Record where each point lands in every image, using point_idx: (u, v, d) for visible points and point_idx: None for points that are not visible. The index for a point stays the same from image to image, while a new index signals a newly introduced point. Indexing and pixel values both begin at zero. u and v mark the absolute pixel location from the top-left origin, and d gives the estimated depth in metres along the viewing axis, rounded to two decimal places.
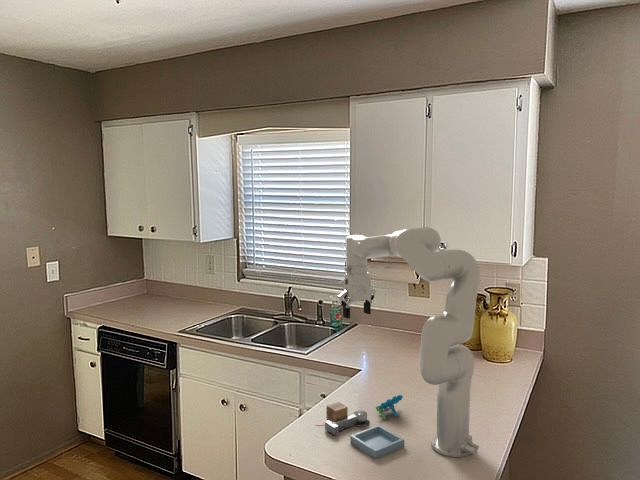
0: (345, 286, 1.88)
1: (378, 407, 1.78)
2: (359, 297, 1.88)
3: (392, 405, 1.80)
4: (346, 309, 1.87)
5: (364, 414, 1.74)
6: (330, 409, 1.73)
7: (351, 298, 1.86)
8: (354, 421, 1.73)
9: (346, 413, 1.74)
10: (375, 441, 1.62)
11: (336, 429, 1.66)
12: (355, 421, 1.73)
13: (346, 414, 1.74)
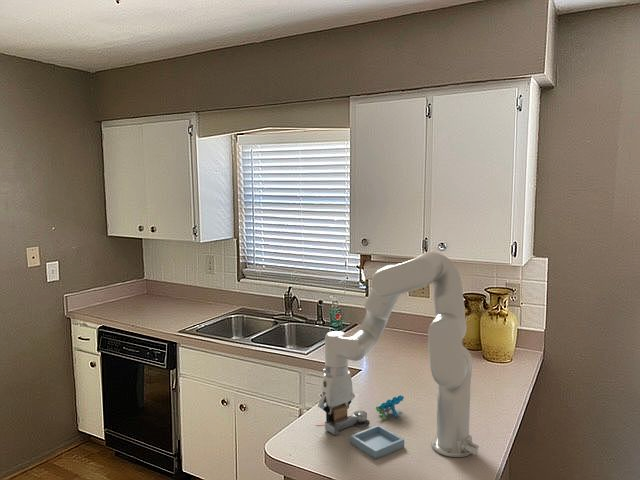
0: (323, 388, 1.71)
1: (378, 407, 1.78)
2: (339, 401, 1.71)
3: (392, 406, 1.80)
4: (329, 415, 1.72)
5: (364, 414, 1.74)
6: None
7: (330, 403, 1.69)
8: (354, 421, 1.73)
9: (346, 413, 1.74)
10: (375, 441, 1.62)
11: (336, 429, 1.66)
12: (355, 421, 1.73)
13: (346, 414, 1.74)
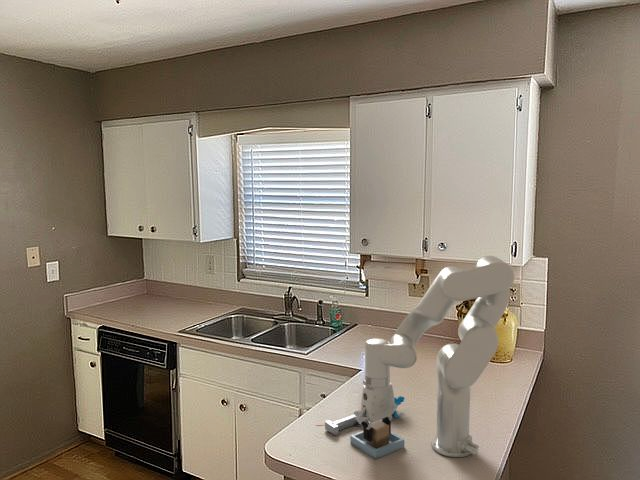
0: (363, 401, 1.56)
1: None
2: (380, 415, 1.56)
3: None
4: (367, 431, 1.57)
5: None
6: None
7: (371, 417, 1.54)
8: (354, 421, 1.73)
9: (387, 432, 1.59)
10: None
11: (336, 429, 1.66)
12: (355, 421, 1.73)
13: (388, 433, 1.59)
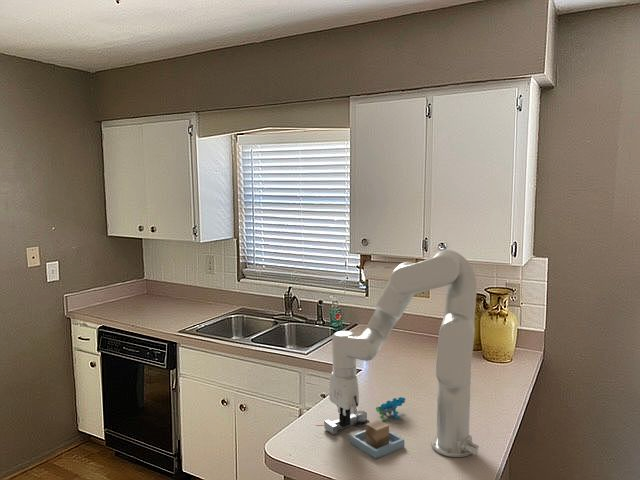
0: None
1: (378, 408, 1.78)
2: (335, 400, 1.67)
3: (393, 407, 1.79)
4: None
5: (364, 414, 1.74)
6: (370, 428, 1.58)
7: (329, 396, 1.70)
8: (354, 421, 1.73)
9: (387, 432, 1.59)
10: None
11: (335, 428, 1.67)
12: (355, 421, 1.73)
13: (388, 433, 1.59)
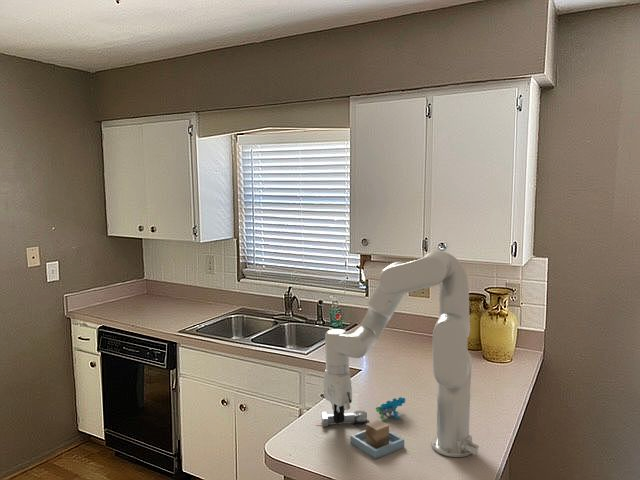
0: None
1: (378, 408, 1.78)
2: (329, 397, 1.70)
3: (393, 407, 1.78)
4: None
5: (363, 415, 1.74)
6: (370, 428, 1.58)
7: None
8: (351, 419, 1.74)
9: (387, 432, 1.59)
10: None
11: (325, 421, 1.72)
12: (352, 420, 1.74)
13: (388, 433, 1.59)
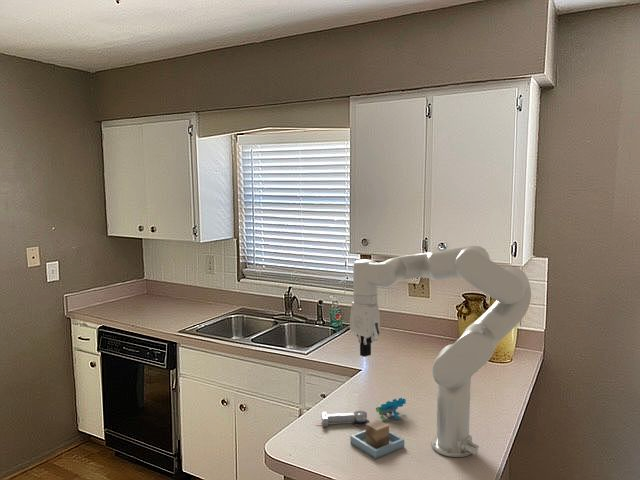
0: None
1: (378, 408, 1.77)
2: (356, 329, 1.65)
3: (393, 408, 1.78)
4: None
5: (363, 415, 1.74)
6: (370, 428, 1.58)
7: (350, 326, 1.68)
8: (351, 419, 1.74)
9: (387, 432, 1.59)
10: None
11: (325, 421, 1.72)
12: (352, 420, 1.74)
13: (388, 433, 1.59)
